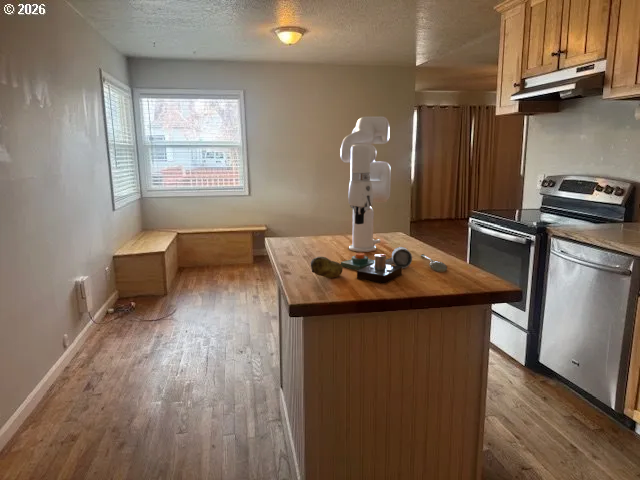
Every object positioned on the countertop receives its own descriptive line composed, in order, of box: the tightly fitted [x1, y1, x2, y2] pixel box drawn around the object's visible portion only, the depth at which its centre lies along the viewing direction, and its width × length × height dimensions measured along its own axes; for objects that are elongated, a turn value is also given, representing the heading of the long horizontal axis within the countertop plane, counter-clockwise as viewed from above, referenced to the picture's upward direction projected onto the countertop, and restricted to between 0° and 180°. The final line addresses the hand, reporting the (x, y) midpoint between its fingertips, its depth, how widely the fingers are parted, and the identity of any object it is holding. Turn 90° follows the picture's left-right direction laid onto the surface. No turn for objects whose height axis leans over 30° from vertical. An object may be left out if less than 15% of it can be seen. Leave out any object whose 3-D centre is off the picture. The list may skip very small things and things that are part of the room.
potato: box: [310, 256, 344, 279], centre depth 158 cm, size 8×13×8 cm, turn 108°
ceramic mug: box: [386, 246, 413, 269], centre depth 174 cm, size 11×8×8 cm
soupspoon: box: [420, 253, 448, 273], centre depth 177 cm, size 22×3×7 cm
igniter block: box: [340, 255, 375, 271], centre depth 175 cm, size 12×10×4 cm
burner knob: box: [374, 253, 387, 270], centre depth 159 cm, size 4×4×5 cm
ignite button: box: [355, 252, 366, 259], centre depth 174 cm, size 4×4×2 cm
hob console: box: [356, 263, 403, 285], centre depth 160 cm, size 14×11×3 cm
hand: (359, 223), depth 174 cm, fingers closed
